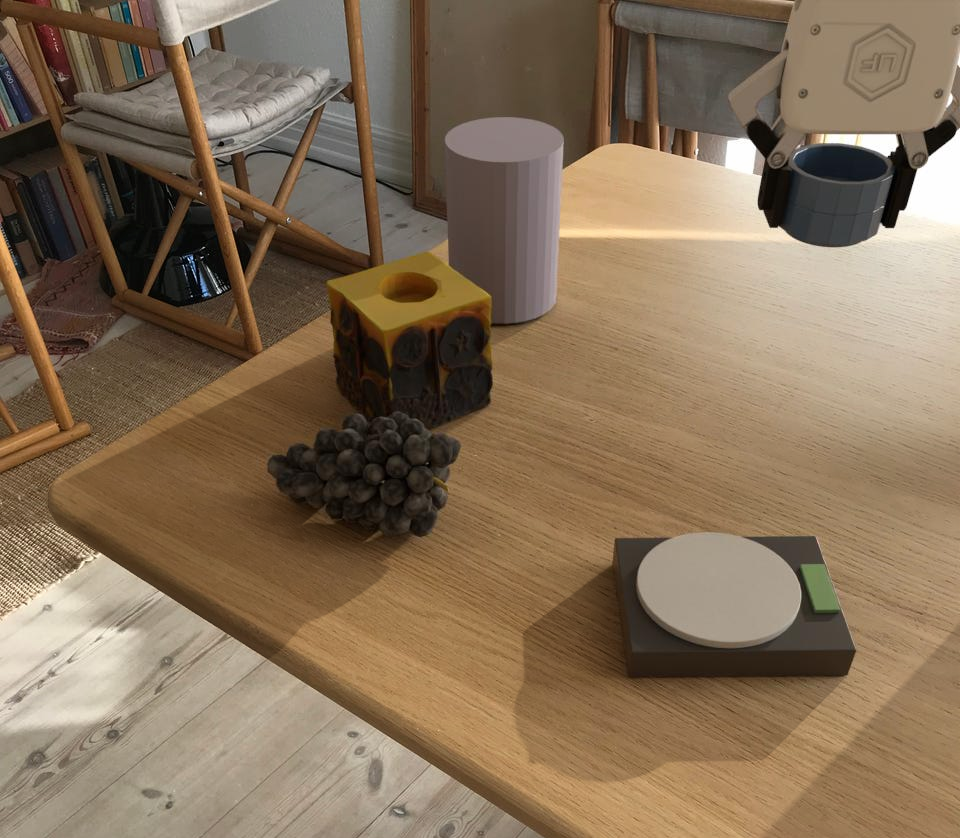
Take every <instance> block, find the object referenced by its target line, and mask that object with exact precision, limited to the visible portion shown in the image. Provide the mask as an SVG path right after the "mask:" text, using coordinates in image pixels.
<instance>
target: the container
mask: <svg viewBox="0 0 960 838" xmlns="http://www.w3.org/2000/svg"><path fill="white" fill-rule="evenodd" d="M564 144H565V137H564V135H563V133H562V132H561V131H560V130H559V129H558V128H556V127H555V126H553V125H551V124H548V123H545V122H543V121H540V120H536V119H530V118H524V117H515V116H498V117H497V116H496V117H485V118H479V119H474V120H470V121H468V122H464V123H461V124H459V125H457V126H454V127H453V128H452V129H450V130H449V131H448V132H447V133H446V135H445V137H444V159H445V162H444V163H445V189H446V190H445V191H446V223H447V252H448V253H447V257H448V265H449V266H450V267H451V268H452V269H454V270H455V271H457V272H458V273H459V274H461V275H462V276H464V277H465V278H466V279H468V280H470V281H471V282H473V283H474V284H475V285H476V286H478V287H479V288H481V289H482V290H484V291H486V292H487V293H488V294H489V295H490V296H491V325H502V326H503V325H505V326H508V325H517V324H518V325H519V324H525V323H528V322H531V321H533V320H534V321H535V320H537V319H538V318H540V317H542V316H544V315H546V313H547V314H548V312H550V310H551V309H553V307H554V306H555V304H556V302H557V293H558V291H557V290H558V271H559V269H558V268H559V249H560V229H561V227H560V225H561V209H562V208H561V206H562V205H561V204H562V186H563V185H562V184H563V183H562V182H563V164H564V163H563V161H564Z"/></svg>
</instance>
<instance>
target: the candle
mask: <svg viewBox="0 0 960 838" xmlns="http://www.w3.org/2000/svg"><path fill="white" fill-rule="evenodd" d="M325 285H326V291H327V295H328V302H329V309H330V311H329V313H330V325H331V328H332V329H331V330H332V337H333V355H332V356H333V363H334V368H335V372H336V378H335V384H336V388H337V390H338V391H339V392H340V393H341V394H342V395H343V396H344V397H345V398H346V399H347V400H348V401H349V403H350V404H351V405H352V406H353V407H354V408H355V409H356V410H358V411H359V414H361V415H363V416H364V418H365V419H366V420H367V421H368V422H369V421H370V422H372V420H373V419H376V418H378V417H385V418H387V417H388V416H390V415H391V414H392V413H394V412H397V411H399V412H402V413H404V414H407V415H408V416H409V418H410V419H417V420H419V421H420V422H422V423H423V424H424V427H425V428H426V429H427V430H429V429H432V428H436V427H439V426H440V425H443V424H444V423H449V422H451V421H453V420H455V419H458V418H460V417H462V416H464V415H467V414H469V413H472V412H476V411H478V410H482V409H485V408H486V407H487V406H490V405H491V402H492V397H491V391H492V388H493V385H494V381H493V380H494V379H493V373H492V371H493V360H492V334H491V330H490V328H491V325H492V324H491V296H490V295H489V294H488V293H487V292H486V291H484V290H482V289H481V288H479V287H478V286H476V285H475V284H474V283H473V282H471V281H470V280H468V279H466V278H465V277H464V276H462V275H461V274H459V273H458V272H457V271H455V270H454V269H452V268H451V267H450V266H449V263H446V262H445V261H443V260H442V259H440V258H439V257H438V256H437V255H435V254H434V253H432V252H431V251H430V252H429V251H423V252H420V253H415V254H413V255H410V256H406V257H404V258H401V259H397V260H394V261H390V262H386V263H383V264H379V265H377V266H374V267H372V268H367V269H365V270H362V271H358V272H355V273H352V274H348V275H344V276H341V277H337V278H334V279H328V280H327V281H326V282H325Z"/></svg>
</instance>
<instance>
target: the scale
mask: <svg viewBox="0 0 960 838" xmlns="http://www.w3.org/2000/svg"><path fill="white" fill-rule="evenodd" d="M611 563H612V564H611V565H612V571H613V579H614V585H615V586H614V587H615V594H616V601H617V607H618V608H617V609H618V614H619V615H618V616H619V622H620V629H621V636H622V641H623V642H622V643H623V650H624V656H625V665H626V672H627V678H629V677H636V678H685V677H684V676H688V677H687V678H718V677H719V678H726V677H727V678H730V677H737V678H738V677H821V676H822V677H823V676H824V677H829V676H830V677H832V676H834V677H836V676H838V677H840V676H843V677H844V676H848V675H849V672H850V670H851V667H852V664H853V661H854V658H855V656H856V654H857V647H856V644H855V641H854V638H853V636H852V633H851V630H850V627H849V624H848V621H847V619H846V616H845V613H844V610H843V607H842V605H841V602H840V599H839V596H838V593H837V591H836V588H835V584H834V582H833V580H832V576H831V573H830V571H829V568H828V565H827V563H826V560H825V556H824V554H823V551H822V549H821V545H820V542H819V541H818V537H817V536H816V535H787V536H785V535H784V536H783V535H781V536H779V535H778V536H777V535H776V536H739V535H735V534H730V533H723V532H716V531H715V532H713V531H712V532H710V531H704V532H703V531H702V532H692V533H691V532H690V533H685V534H681V535H677V536H673V537H615V538H614V544H613V554H612V562H611ZM650 676H651V677H650ZM659 676H660V677H659ZM668 676H669V677H668ZM676 676H678V677H676ZM692 676H694V677H692Z"/></svg>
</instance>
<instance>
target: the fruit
mask: <svg viewBox="0 0 960 838" xmlns="http://www.w3.org/2000/svg"><path fill="white" fill-rule="evenodd" d="M367 421H368V420H367V418H366V417H365V416H363V415H362V414H361V413H354V412H351V413H349V414H347V415H345V417H344V419H343V421H342V422H341V426H342V430H339V431H337V430H335V429H334V428H331V427H329V426H326V427H323V428H319V429H318V431H317V432H316V433H315V437H314V438H315V439H314V442H313V444H312V446H313V448H311V447H310V446H308V445H307V444H305V443H302V442H296V443H294V444H291V445H289V447H288V449H287V451H286V455H283V454H273V455H272V456H271V457H270V458H269V459H268V460H267V466H266V468H267V473H268V474H269V475H270V476H271V477H272V478H274V479H275V486H276V487H277V489H278V491H279V492H280V493H281V494H283V495H285V496H287V497H288V498H289V499H290V501H292V502H293V503H296V504H297V505H299V504H304V503H308V505H310V506H312V507H314V508H317V509H320V508H323V507H325V513H326V514H327V515H328V516H329V518H330V519H331V520H335V521H339V520H343V519H344V520H345V521H346V522H347V523H349V524H358V523H359V524H360V525H361V526H362V527H363V528H364V529H367V530H374V529H376V527H377V529H378V530H379V532H381V533H382V534H383V535H385V536H387V537H389V536H397V535H402V534H405V533H407V532H408V531H410V534H411V535H413V536H415V537H418V538H421V537H422V538H423V537H426V536H428V535H430V534H431V533H432V532H433V529H434V527H435V525H436V523H437V521H438V519H439V511H441V510H442V509H443V508H445V507H446V505H447V501H448V498H449V496H448V494H447V493H450V492H451V491H450V488H449V487H448V485H446V483H447V481H448V480H449V478H450V476H451V469H450V467H449V466H451V465H452V464H454V463H455V462H456V461H457V458H458V456H459V453H460V451H461V447H462V445H461V443H460V441H459V440H458V439H457V438H455V437H454V436H450V435H447V434H445V433H442V432H436V433H432V432H431V431H430V430H429V429H426V428H425V427H424V424H423V423H422V422H420V421H419V420H417V419H410V418H409V416H408V415H407V414H404V413H402V412H399V411H397V412H394V413H392V414H391V415H390V416H388V417H387V418H385V417H378V418H376V419H373V420H372V421H370V423H369V424H368V422H367Z"/></svg>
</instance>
